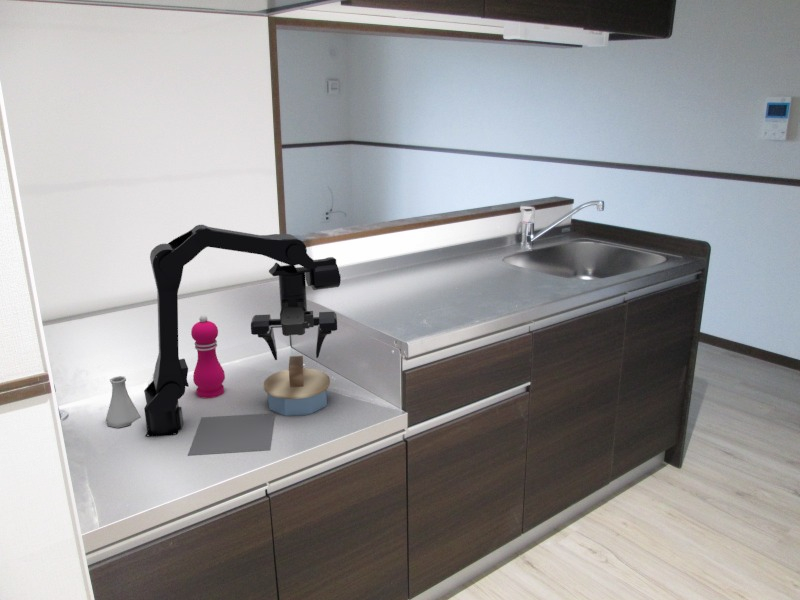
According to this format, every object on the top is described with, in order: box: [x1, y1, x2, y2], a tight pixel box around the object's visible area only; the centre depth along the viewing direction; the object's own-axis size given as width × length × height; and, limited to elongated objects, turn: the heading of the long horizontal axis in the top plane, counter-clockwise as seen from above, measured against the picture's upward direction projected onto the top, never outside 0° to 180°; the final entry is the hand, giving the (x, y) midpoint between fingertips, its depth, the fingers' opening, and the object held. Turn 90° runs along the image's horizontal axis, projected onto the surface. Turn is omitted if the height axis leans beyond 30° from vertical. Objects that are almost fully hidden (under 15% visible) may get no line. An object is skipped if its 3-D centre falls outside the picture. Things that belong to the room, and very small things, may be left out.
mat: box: [187, 412, 276, 457], centre depth 134 cm, size 16×16×1 cm
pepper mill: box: [190, 314, 226, 399], centre depth 150 cm, size 7×7×20 cm
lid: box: [263, 355, 331, 399], centre depth 145 cm, size 15×15×6 cm
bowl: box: [267, 389, 328, 417], centre depth 147 cm, size 13×13×5 cm
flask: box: [105, 375, 142, 429], centre depth 139 cm, size 7×7×10 cm
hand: (296, 358), depth 144 cm, fingers open, 9 cm apart
